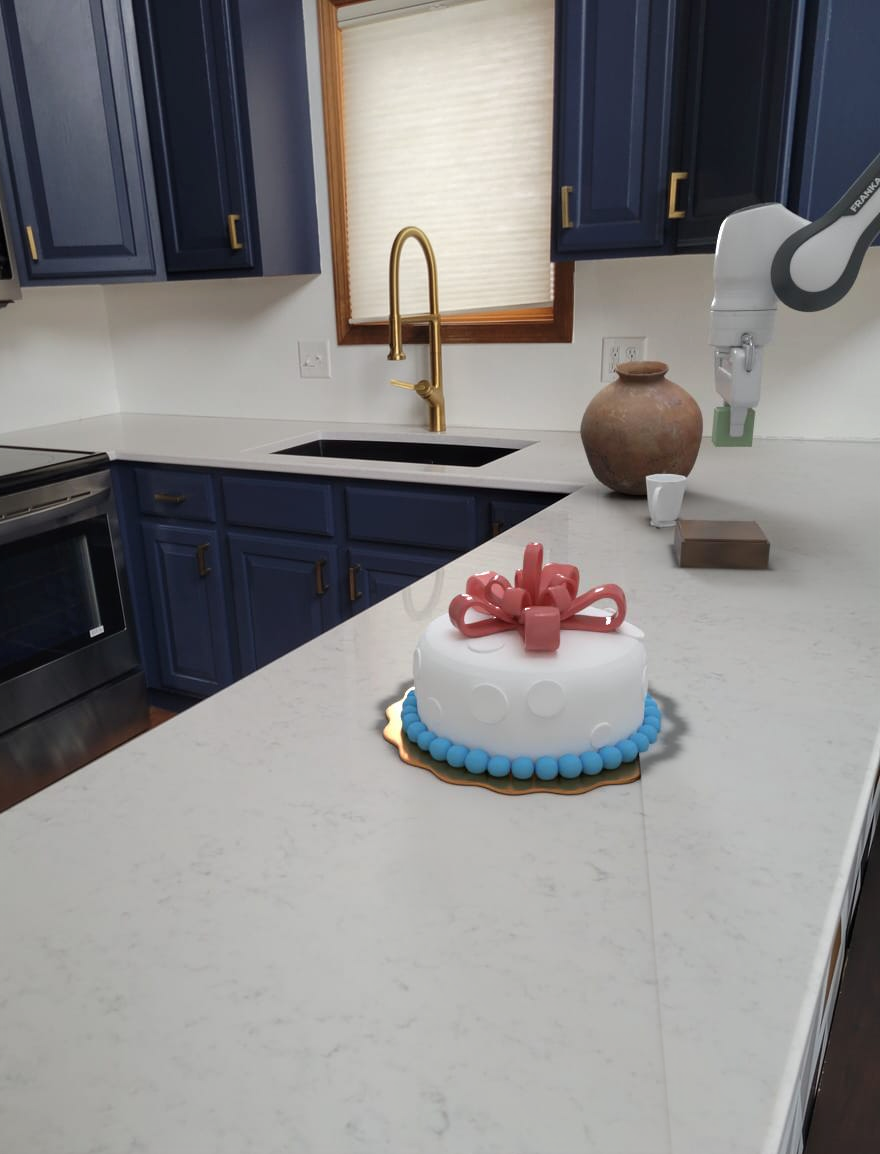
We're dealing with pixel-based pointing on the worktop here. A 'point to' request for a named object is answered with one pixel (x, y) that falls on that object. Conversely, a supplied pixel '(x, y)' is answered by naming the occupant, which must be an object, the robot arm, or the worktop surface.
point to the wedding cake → (528, 687)
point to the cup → (665, 498)
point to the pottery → (641, 428)
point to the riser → (721, 544)
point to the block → (722, 429)
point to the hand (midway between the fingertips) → (732, 432)
